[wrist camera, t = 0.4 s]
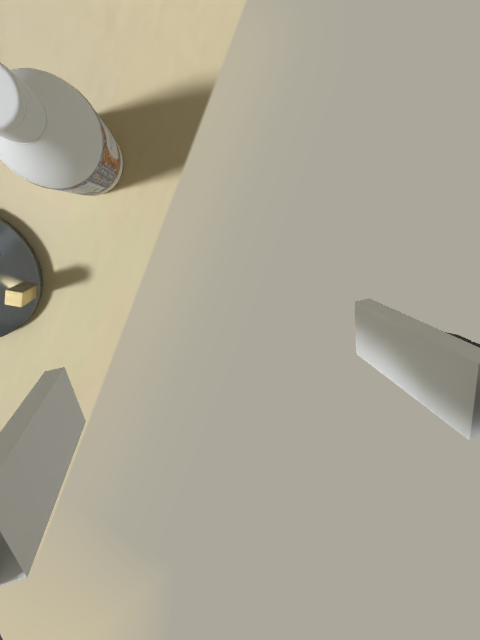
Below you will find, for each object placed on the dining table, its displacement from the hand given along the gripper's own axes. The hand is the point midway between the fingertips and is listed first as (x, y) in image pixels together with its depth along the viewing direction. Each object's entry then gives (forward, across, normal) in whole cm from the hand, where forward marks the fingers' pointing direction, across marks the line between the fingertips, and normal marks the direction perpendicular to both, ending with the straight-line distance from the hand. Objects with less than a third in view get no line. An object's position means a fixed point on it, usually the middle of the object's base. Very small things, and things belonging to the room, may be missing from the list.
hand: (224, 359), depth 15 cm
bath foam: (+26, -8, +12) cm, 30 cm away
